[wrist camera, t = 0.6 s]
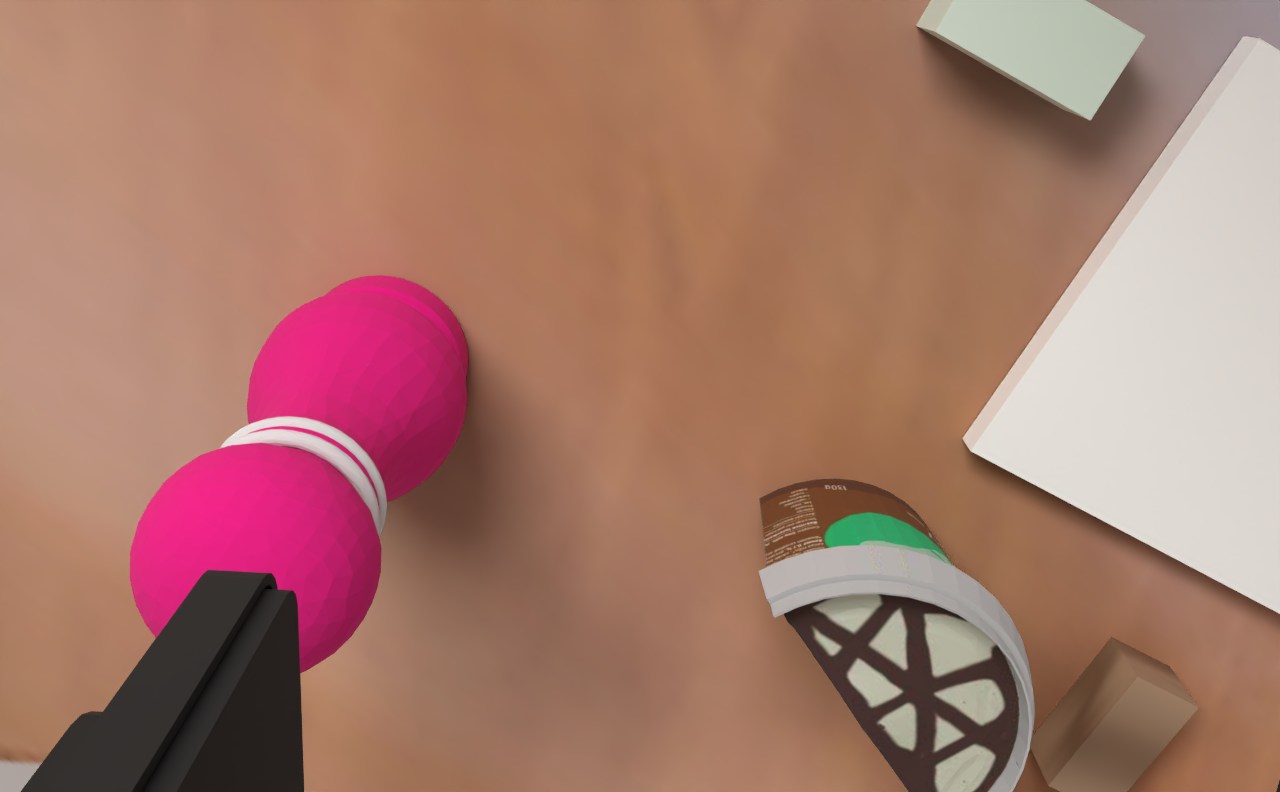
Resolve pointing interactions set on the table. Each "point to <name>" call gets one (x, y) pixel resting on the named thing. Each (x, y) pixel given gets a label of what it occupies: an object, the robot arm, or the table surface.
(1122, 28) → the sage block
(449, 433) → the pepper mill
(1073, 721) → the walnut block
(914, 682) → the food container
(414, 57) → the table surface
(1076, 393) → the platter
